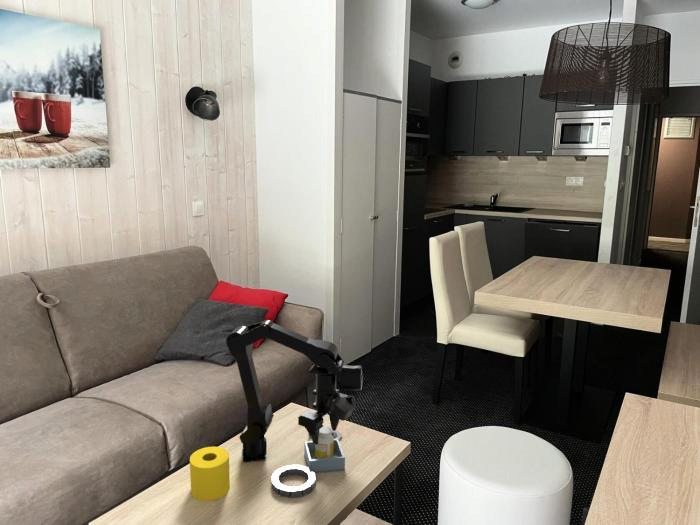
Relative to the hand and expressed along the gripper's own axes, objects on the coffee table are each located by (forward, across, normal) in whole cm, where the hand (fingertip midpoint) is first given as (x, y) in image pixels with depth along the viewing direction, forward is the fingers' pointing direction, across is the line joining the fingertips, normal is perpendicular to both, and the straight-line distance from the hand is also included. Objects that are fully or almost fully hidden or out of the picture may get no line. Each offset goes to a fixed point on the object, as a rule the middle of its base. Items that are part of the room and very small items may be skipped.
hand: (325, 437), depth 155 cm
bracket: (+9, +13, +9) cm, 18 cm away
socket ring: (+8, -14, +1) cm, 16 cm away
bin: (+8, 0, 0) cm, 8 cm away
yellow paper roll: (+8, -28, +18) cm, 34 cm away
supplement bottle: (+8, 0, 0) cm, 8 cm away
